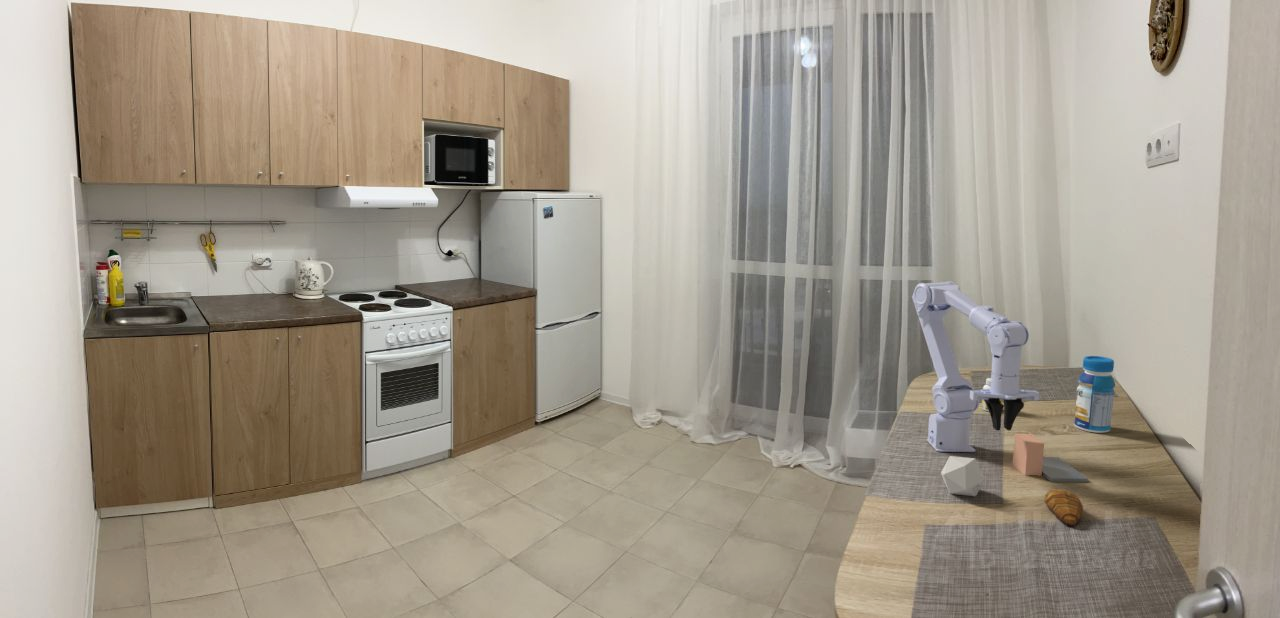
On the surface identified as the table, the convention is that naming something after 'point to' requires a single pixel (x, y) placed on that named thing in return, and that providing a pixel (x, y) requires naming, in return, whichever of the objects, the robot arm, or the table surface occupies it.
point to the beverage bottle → (1095, 395)
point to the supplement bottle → (988, 382)
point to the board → (1060, 471)
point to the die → (962, 476)
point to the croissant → (1064, 506)
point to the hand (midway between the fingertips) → (1001, 428)
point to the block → (1028, 454)
